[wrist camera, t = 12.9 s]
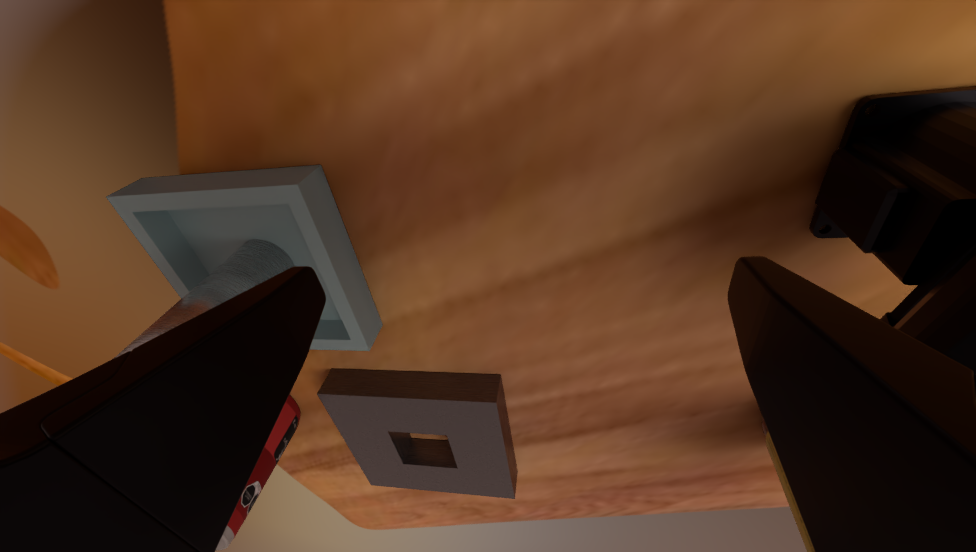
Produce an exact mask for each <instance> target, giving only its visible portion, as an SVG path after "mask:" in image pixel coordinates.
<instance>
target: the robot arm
mask: <svg viewBox="0 0 976 552" xmlns="http://www.w3.org/2000/svg"><path fill="white" fill-rule="evenodd" d="M871 105H875V108H874V109H873V111H872V112H870V113H869V114H865V111H866V110H867V108H869V107H870V106H871ZM815 203H816V205H817V207H816V210H815V212H814V215H813V218H812V220H811V223H810V227H809V229H810V231H811V233H812V234H813V235H814V236H815V237H817V238H848V237H849V238H850V239H851V240H852V241H853V242H854V243H855V244H856V245H857V246H858V247H859V248H860V249H861V250H862V251H863V252H864V253H873V254H874V255H875V256H876V257H877V258H878V259H879V260H880V261H881V262H882V263H883V264H884V265H885V266H886V267H887V268H888V269H889V270H890V271H891V272H892V273H893V274H894V275H895V276H896V277H897V278H898V279H899V280H900V281H901V282H902V283H903V284H905V285H918V286H917V287H916V288H915V289H914V290H913V291H912V292H911V293H910V294H909V295H908V296H907V297H906V298H905V299H904V300H903V301H902V302H901V303H900V304H899V305H898V306H897V307H896V308H895V309H894V310H893V311H892V312H891V313H889V312H887V313H886V314H885V315H884V316H883V317H882V318H881V319H878V318H876V317H874V316H872V315H870V314H869V313H867V312H865V311H863V310H861V309H859V308H858V307H856V306H854V305H852V304H850V303H848V302H847V301H845V300H843V299H841V298H839V297H837V296H836V295H834V294H832V293H830V292H828V291H826V290H825V289H823V288H821V287H819V286H817V285H815V284H814V283H812V282H810V281H808V280H806V279H804V278H803V277H801V276H799V275H797V274H795V273H793V272H792V271H790V270H788V269H786V268H784V267H782V266H781V265H779V264H777V263H775V262H773V261H771V260H770V259H768V258H766V257H762V256H753V257H741V258H739V259H738V260H737V262H736V264H735V267H734V271H733V275H732V279H731V282H730V286H729V290H728V304H729V308H730V312H731V316H732V320H733V324H734V328H735V332H736V336H737V341H738V345H739V349H740V353H741V357H742V361H743V365H744V368H745V372H746V374H747V377H748V380H749V383H750V385H751V388H752V390H753V393H754V396H755V398H756V401H757V403H758V406H759V408H760V411H761V414H762V416H763V419H764V421H765V424H766V427H767V429H768V432H769V434H770V437H771V439H772V442H773V445H774V447H775V450H776V452H777V455H778V457H779V460H780V463H781V465H782V468H783V470H784V473H785V475H786V478H787V481H788V483H789V486H790V488H791V491H792V493H793V496H794V499H795V501H796V504H797V506H798V509H799V511H800V514H801V517H802V519H803V522H804V524H805V527H806V529H807V532H808V535H809V537H810V540H811V542H812V545H813V547H814V550H815V552H976V86H974V87H962V88H950V89H939V90H927V91H915V92H904V93H892V94H880V95H871V96H867V97H865V98H863V99H861V100H860V101H859V102H858V103H857V104H856V105H855V107H854V109H853V111H852V114H851V116H850V119H849V122H848V124H847V127H846V130H845V132H844V135H843V138H842V140H841V143H840V146H839V148H838V149H837V150H836V151H835V152H834V153H833V155H832V158H831V161H830V164H829V166H828V169H827V172H826V174H825V177H824V180H823V183H822V185H821V188H820V191H819V193H818V196H817V199H816V202H815ZM824 225H827V226H826V227H825V228H824V229H820V228H821V227H822V226H824ZM819 229H820V230H819ZM325 303H326V295H325V292H324V289H323V287H322V285H321V283H320V281H319V279H318V277H317V275H316V272H315V271H314V269H313V268H312V267H309V266H294V267H291V268H289V269H287V270H285V271H283V272H281V273H279V274H277V275H276V276H274V277H272V278H270V279H268V280H266V281H264V282H262V283H260V284H258V285H256V286H254V287H252V288H250V289H248V290H246V291H244V292H243V293H241V294H239V295H237V296H235V297H233V298H231V299H229V300H227V301H225V302H223V303H221V304H219V305H217V306H215V307H213V308H211V309H209V310H208V311H206V312H204V313H202V314H200V315H198V316H196V317H194V318H192V319H190V320H188V321H186V322H184V323H182V324H180V325H178V326H176V327H175V328H173V329H171V330H169V331H167V332H165V333H163V334H161V335H159V336H157V337H155V338H153V339H151V340H149V341H147V342H145V343H143V344H142V345H140V346H138V347H136V348H134V349H133V350H132V351H128V352H126V353H124V354H122V355H120V356H118V357H116V358H114V359H112V360H111V361H108V362H106V363H104V364H103V365H100V366H98V367H96V368H94V369H93V370H91V371H88V372H87V373H84V374H82V375H81V376H79V377H76V378H74V379H72V380H70V381H68V382H66V383H64V384H62V385H60V386H58V387H56V388H54V389H51V390H49V391H47V392H45V393H43V394H41V395H39V396H37V397H35V398H32V399H30V400H28V401H26V402H24V403H22V404H20V405H17V406H15V407H13V408H11V409H9V410H7V411H5V412H3V413H0V552H215V550H216V548H217V546H218V544H219V542H220V540H221V538H222V535H223V533H224V531H225V529H226V527H227V525H228V523H229V521H230V519H231V516H232V514H233V512H234V510H235V508H236V506H237V504H238V502H239V499H240V497H241V495H242V493H243V491H244V489H245V487H246V485H247V483H248V480H249V478H250V476H251V474H252V472H253V470H254V468H255V466H256V464H257V461H258V459H259V457H260V455H261V453H262V451H263V449H264V447H265V445H266V442H267V440H268V438H269V436H270V434H271V432H272V430H273V428H274V426H275V423H276V421H277V419H278V417H279V415H280V413H281V411H282V409H283V407H284V404H285V402H286V400H287V398H288V396H289V394H290V392H291V390H292V388H293V385H294V383H295V381H296V379H297V377H298V375H299V373H300V371H301V369H302V366H303V364H304V362H305V360H306V357H307V354H308V352H309V349H310V346H311V344H312V341H313V338H314V335H315V332H316V329H317V326H318V324H319V321H320V318H321V315H322V312H323V309H324V306H325Z"/></svg>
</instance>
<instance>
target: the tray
mask: <svg viewBox="0 0 976 552" xmlns="http://www.w3.org/2000/svg"><path fill="white" fill-rule="evenodd" d="M106 198H107V199H108V200H109V202H110V203H111V204H112V206H113V207H114V208H115V209H116V211H117V212H118V214H119V215H120V216H121V218H122V219H123V221H124V222H125V223H126V225H127V226H128V227H129V229H130V230H131V231H132V233H133V234H134V235H135V237H136V238H137V239H138V241H139V242H140V243H141V245H142V246H143V247H144V249H145V250H146V251H147V253H148V254H149V256H150V257H151V258H152V259H153V261H154V262H155V264H156V265H157V266H158V268H159V269H160V270H161V272H162V273H163V275H164V276H165V277H166V279H167V280H168V281H169V283H170V284H171V285H172V287H173V288H174V289H175V291H176V292H177V293H178V295H179V296H180V297H181V299H182V298H183V297H184V296H185V295H186V294H188V293H189V292H190V291H191V290H192V289H193V288H194V287H195V286H197V285H198V284H199V283H200V282H201V281H202V280H203V279H205V278H206V277H207V276H208V275H209V274H210V273H211V272H213V271H214V270H215V269H216V268H217V267H218V266H219V265H220V264H222V263H223V262H224V261H225V260H226V259H227V258H228V257H230V256H231V255H232V254H233V253H234V252H235V251H236V250H238V249H239V248H240V247H241V246H242V245H243V244H244V243H245V242H247V241H249V240H252V239H261V240H266V241H269V242H271V243H273V244H275V245H277V246H279V247H280V248H281V249H283V250H284V251H285V252H286V253H287V254H288V255H289V256H290V258H291V259H292V261H293V263H294V265H295V266H309V267H312V268H313V269H314V271H315V272H316V275H317V277H318V279H319V281H320V283H321V285H322V287H323V289H324V292H325V295H326V303H325V306H324V309H323V312H322V315H321V318H320V321H319V324H318V326H317V329H316V332H315V335H314V338H313V341H312V344H311V346H310V349H315V350H354V351H370V349H371V347H372V345H373V343H374V341H375V339H376V337H377V335H378V333H379V331H380V329H381V327H382V325H383V324H382V322H381V319H380V317H379V314H378V311H377V309H376V306H375V304H374V301H373V298H372V296H371V293H370V291H369V288H368V285H367V283H366V280H365V278H364V275H363V273H362V270H361V267H360V265H359V262H358V260H357V257H356V254H355V252H354V249H353V247H352V244H351V241H350V239H349V236H348V234H347V231H346V229H345V226H344V223H343V221H342V218H341V216H340V213H339V210H338V208H337V205H336V203H335V200H334V197H333V195H332V192H331V190H330V187H329V185H328V182H327V179H326V177H325V174H324V172H323V169H322V166H321V165H310V166H297V167H283V168H270V169H256V170H243V171H229V172H216V173H202V174H189V175H175V176H162V177H149V178H141V179H139V180H137V181H135V182H133V183H132V184H130V185H128V186H126V187H124V188H122V189H120V190H118V191H116V192H114V193H112V194H110V195H108V196H107V197H106Z"/></svg>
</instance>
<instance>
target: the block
mask: <svg viewBox="0 0 976 552" xmlns="http://www.w3.org/2000/svg"><path fill="white" fill-rule="evenodd" d="M317 395H318V396H319V398H320V400H321V401H322V403H323V405H324V406H325V408H326V410H327V412H328V413H329V415H330V417H331V418H332V420H333V422H334V423H335V425H336V427H337V428H338V430H339V432H340V433H341V435H342V437H343V438H344V440H345V442H346V443H347V445H348V447H349V449H350V450H351V452H352V454H353V455H354V457H355V459H356V460H357V462H358V464H359V465H360V467H361V469H362V470H363V472H364V474H365V475H366V477H367V479H368V480H369V482H370V484H371V485H376V486H387V487H397V488H407V489H418V490H428V491H439V492H449V493H460V494H470V495H480V496H491V497H501V498H512V499H515V492H516V482H517V472H518V471H517V466H516V460H515V454H514V448H513V442H512V437H511V431H510V425H509V419H508V413H507V408H506V402H505V396H504V390H503V384H502V379H501V375H496V374H468V373H440V372H412V371H384V370H356V369H331V371H330V372H329V374H328V376H327V378H326V379H325V381H324V383H323V384H322V386H321V388H320V390H319V391H318V393H317ZM410 433H419V434H434V435H447V437H448V440H449V441H444V440H430V439H415V438H411V436H410Z"/></svg>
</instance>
